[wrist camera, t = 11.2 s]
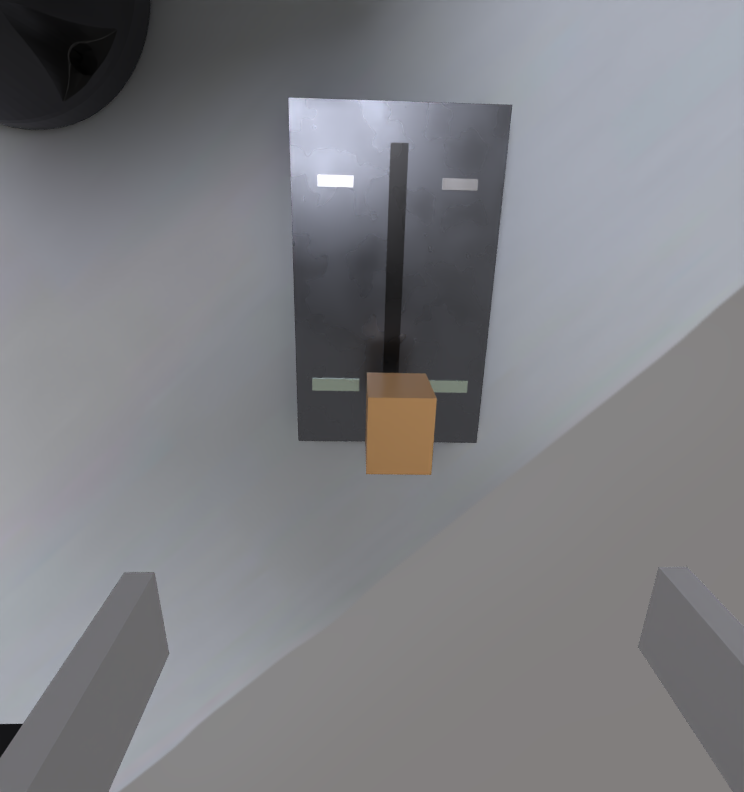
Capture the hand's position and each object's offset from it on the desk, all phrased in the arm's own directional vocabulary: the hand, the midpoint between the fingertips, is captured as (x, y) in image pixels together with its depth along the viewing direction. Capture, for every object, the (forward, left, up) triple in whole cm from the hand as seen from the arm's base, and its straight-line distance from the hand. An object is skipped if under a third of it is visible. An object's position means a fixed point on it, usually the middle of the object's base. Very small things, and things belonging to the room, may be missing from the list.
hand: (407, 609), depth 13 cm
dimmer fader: (0, +1, -19) cm, 19 cm away
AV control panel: (-6, +1, -22) cm, 23 cm away
